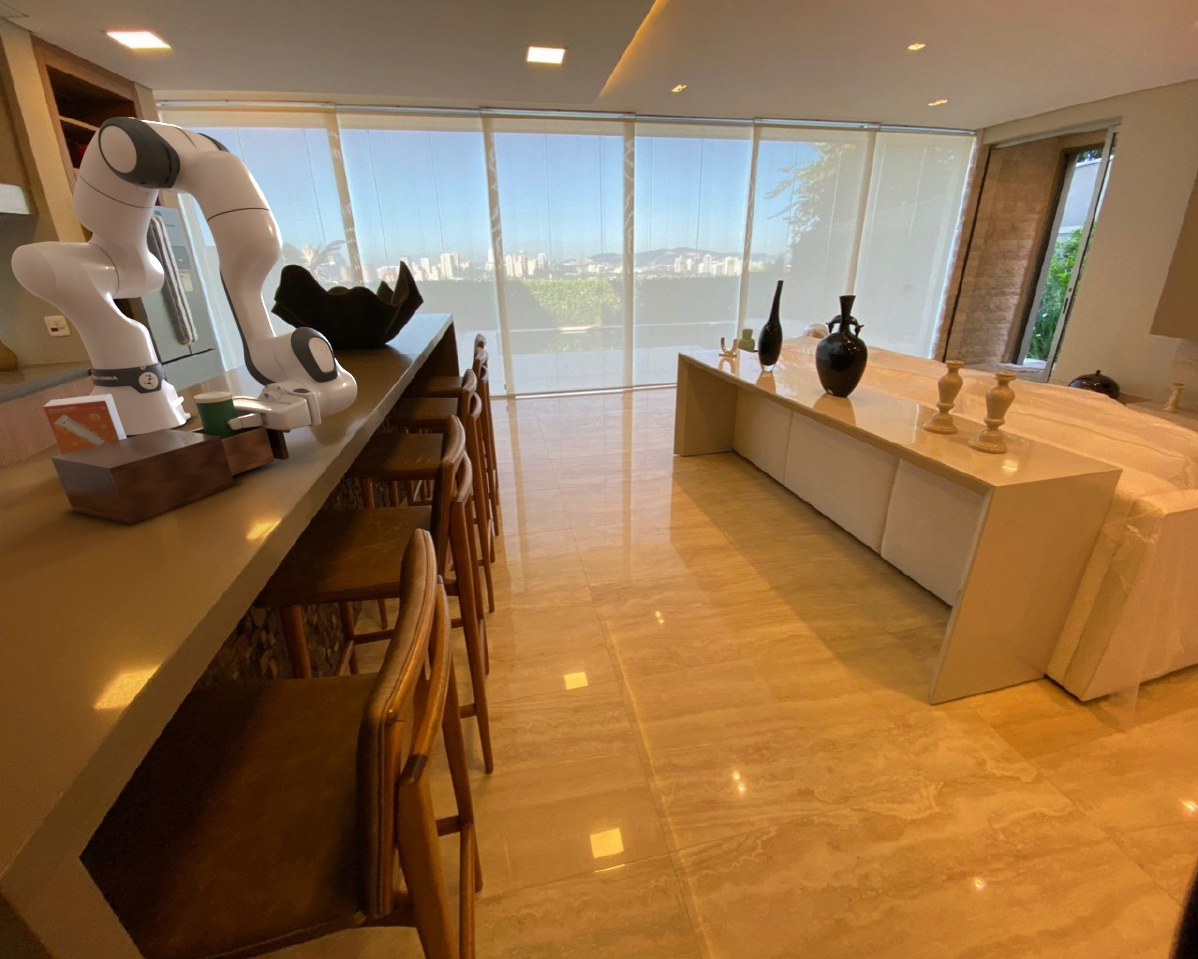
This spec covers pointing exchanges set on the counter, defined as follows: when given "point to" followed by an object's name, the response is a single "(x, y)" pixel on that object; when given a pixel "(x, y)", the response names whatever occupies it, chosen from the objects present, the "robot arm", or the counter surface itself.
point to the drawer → (253, 447)
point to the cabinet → (144, 474)
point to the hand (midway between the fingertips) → (215, 423)
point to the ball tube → (216, 413)
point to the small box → (84, 422)
